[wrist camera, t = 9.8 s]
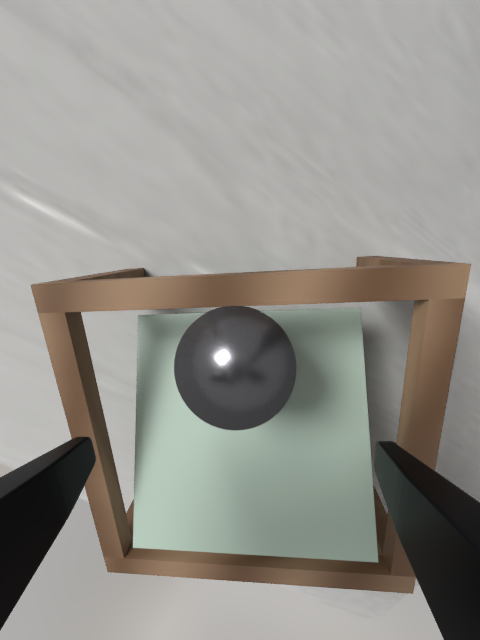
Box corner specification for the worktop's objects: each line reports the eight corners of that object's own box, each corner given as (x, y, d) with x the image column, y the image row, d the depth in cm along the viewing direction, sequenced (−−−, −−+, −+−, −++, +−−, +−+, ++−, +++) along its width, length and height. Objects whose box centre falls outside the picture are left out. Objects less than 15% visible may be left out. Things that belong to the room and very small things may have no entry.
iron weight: (284, 315, 16) (294, 303, 11) (287, 399, 16) (299, 431, 10) (204, 318, 16) (173, 307, 11) (205, 399, 16) (174, 429, 11)
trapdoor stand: (376, 256, 18) (471, 263, 10) (359, 468, 23) (412, 593, 15) (127, 269, 20) (30, 284, 12) (159, 463, 24) (107, 571, 16)
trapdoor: (355, 310, 17) (360, 307, 16) (371, 548, 15) (378, 562, 14) (145, 316, 18) (138, 315, 17) (140, 535, 17) (132, 547, 16)
